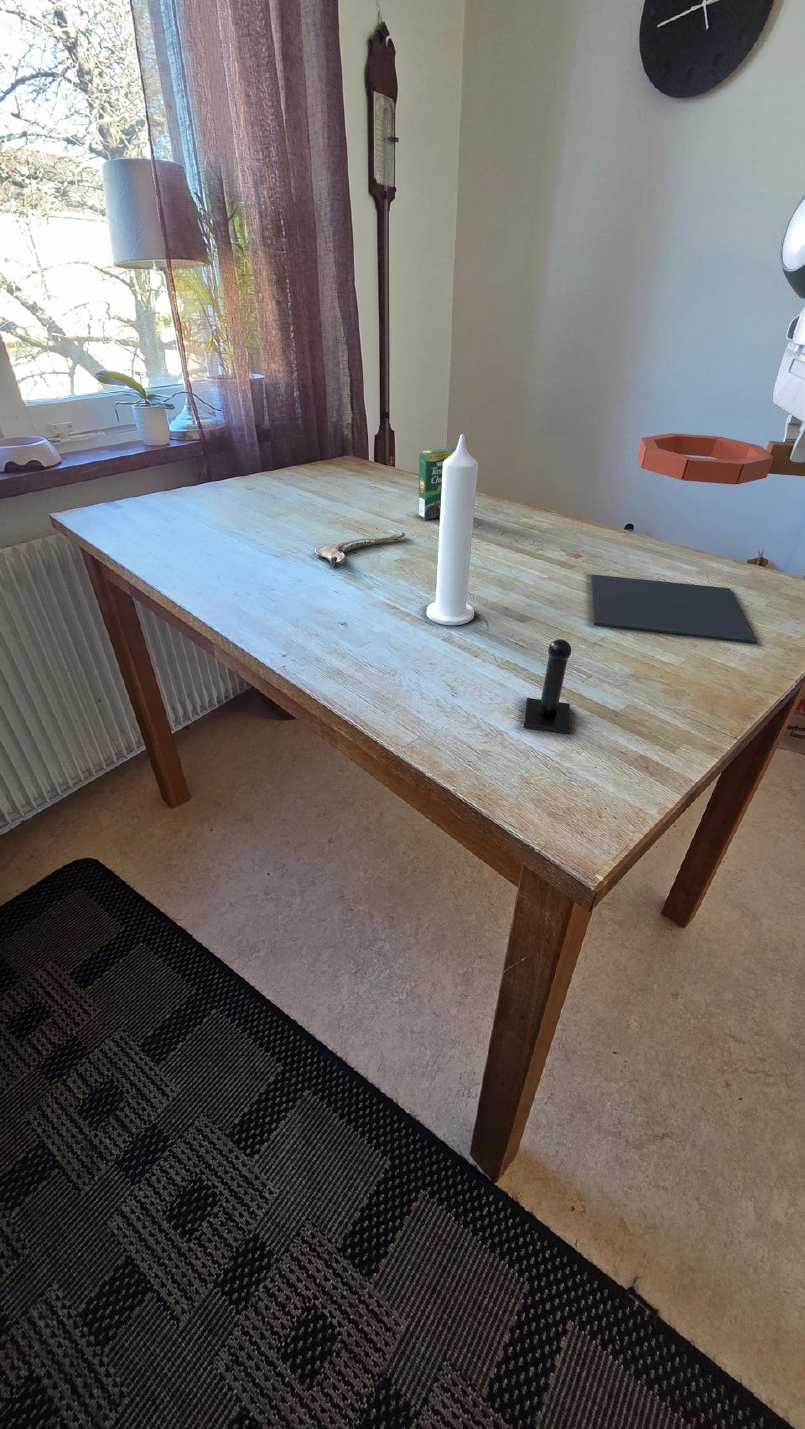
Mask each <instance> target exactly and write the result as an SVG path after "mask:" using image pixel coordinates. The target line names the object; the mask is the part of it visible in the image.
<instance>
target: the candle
mask: <svg viewBox="0 0 805 1429" xmlns="http://www.w3.org/2000/svg"><path fill="white" fill-rule="evenodd" d="M456 448H457V449H456V451H455V452H454V453H453V454H452V455H451V456H450V457H448V458H447V459H445V460H444V462H443V474H442V493H441V512H440V517H439V531H438V532H439V533H438V550H437V551H438V553H437V571H436V572H437V574H436V589H435V590H436V593H435V601H433V602H431V603H430V604H429V605H428V606H427V608H426V616H427V617H428V618H429V620H430V621H432V622H434V623H437V624H440V625H444V626H445V625H446V626H459V625H464V624H467V623H469V622H471V621H472V620H473V619H474V616H475V610H474V608H473V606H472V605H470V604H469V603H467V601H468V587H469V578H470V564H471V552H472V540H473V539H472V538H473V529H474V519H475V518H474V516H475V506H476V505H475V503H476V494H477V483H478V470H479V462H478V460H476V459H475V458H474V457H473V456H472V455H471V454H470V453H469V452H468V449H467V444H466V436H465V434H463V433H462V434H460V436H459V440H458V443H457V446H456Z"/></svg>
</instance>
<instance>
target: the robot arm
mask: <svg viewBox="0 0 805 1429" xmlns="http://www.w3.org/2000/svg"><path fill="white" fill-rule="evenodd" d="M780 244H781V245H780V251H779V259H780V260H779V261H780V265H781V269H782V271H783V274H784V276H785V279H786V281H787V283H788V284H789V286H790V287H791V289H792V290H793V292H794V293H795V294H796V295H797V296H798V297H799V298H800V299H803V300H805V195H803V197H802V198H801V200H800V201H799V202H798V203H797V206H796V207H795V209H794V210H793V212H792V214H791V216H790V218H789V220H788V223H787V225H786V227H785V230H784V233H783V236H782V240H781V243H780ZM785 339H786V340H787V341H789V342H788V344H787V346H786V348H785V351H784V353H783V355H782V359H781V361H780V365H779V369H778V373H777V376H776V380H775V384H774V388H773V394H772V403H773V404H774V405H776V406H777V407H779V408H780V409H782V410H783V411H785V412H786V413H788V415H787V418H786V421H785V427H784V437H783V439H782V440H783V441H782V442H794V443H795V444H792V446H791V449H790V452H789V454H788V458H789V459H790V460H791V461H792V462H801V463H802V462H804V461H805V306H804V307H803V308H802V310H801V312H800V313H799V314H798V315H797V316H794V317H793V319H792V320H790V323H789V325H788V328H787V330H786V333H785Z"/></svg>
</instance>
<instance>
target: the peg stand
mask: <svg viewBox="0 0 805 1429" xmlns="http://www.w3.org/2000/svg"><path fill="white" fill-rule="evenodd" d="M547 648H548V649H547V652H548V659H547V664H546V668H545V670H546V671H545V675H544V681H543V686H542V691H541V696H540V699H539V698H533V697H531V698H530V697H526V701H525V709H524V718H523V729H524V728H525V729H531V730H537V731H544V732H552V733H557V734H563V735H569V734H570V729H571V728H570V726H571V703H568V702H561V701H560V698H561V694H562V689H563V685H564V679H565V674H566V669H567V666H568V665H567V664H568V661H569V658H570V656H571V654H572V646H571V643H569V642H568V641H567V640H565V639H563V638H558V639H555V640H553V641H552V642H551V643H550V644H549V645H548V647H547Z"/></svg>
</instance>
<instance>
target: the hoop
mask: <svg viewBox="0 0 805 1429" xmlns="http://www.w3.org/2000/svg"><path fill="white" fill-rule="evenodd" d="M792 444H795V443H794V442H783V441H778V440H768V443H767V447H766V449H765V448H764V447H763V446H761V445H759V444H754V443H750V442H745V441H741V440H737V439H732V438H729V437H725V436H718V435H706V434H705V435H704V434H689V433H688V434H687V433H674V432H673V433H664V434H657V435H652V436H651V435H650V436H644V437H642V438H641V439H640V443H639V448H638V451H637V456H636V457H637V460H638V462H639V466H640V468H641V469H643V470H646V471H649V472H652V473H655V474H659V475H663V476H666V477H669V478H673V479H676V480H680V481H683V482H696V483H697V482H698V483H709V484H722V485H723V484H724V485H735V486H736V485H741V484H747V483H750V482H755V481H759V480H763V479H767V477H768V475H779V476H780V475H781V476H795V477H805V461H804V462H802V463H801V462H792V461H791V460H790V459H789V458H788V454H789V452H790V449H791V446H792Z"/></svg>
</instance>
